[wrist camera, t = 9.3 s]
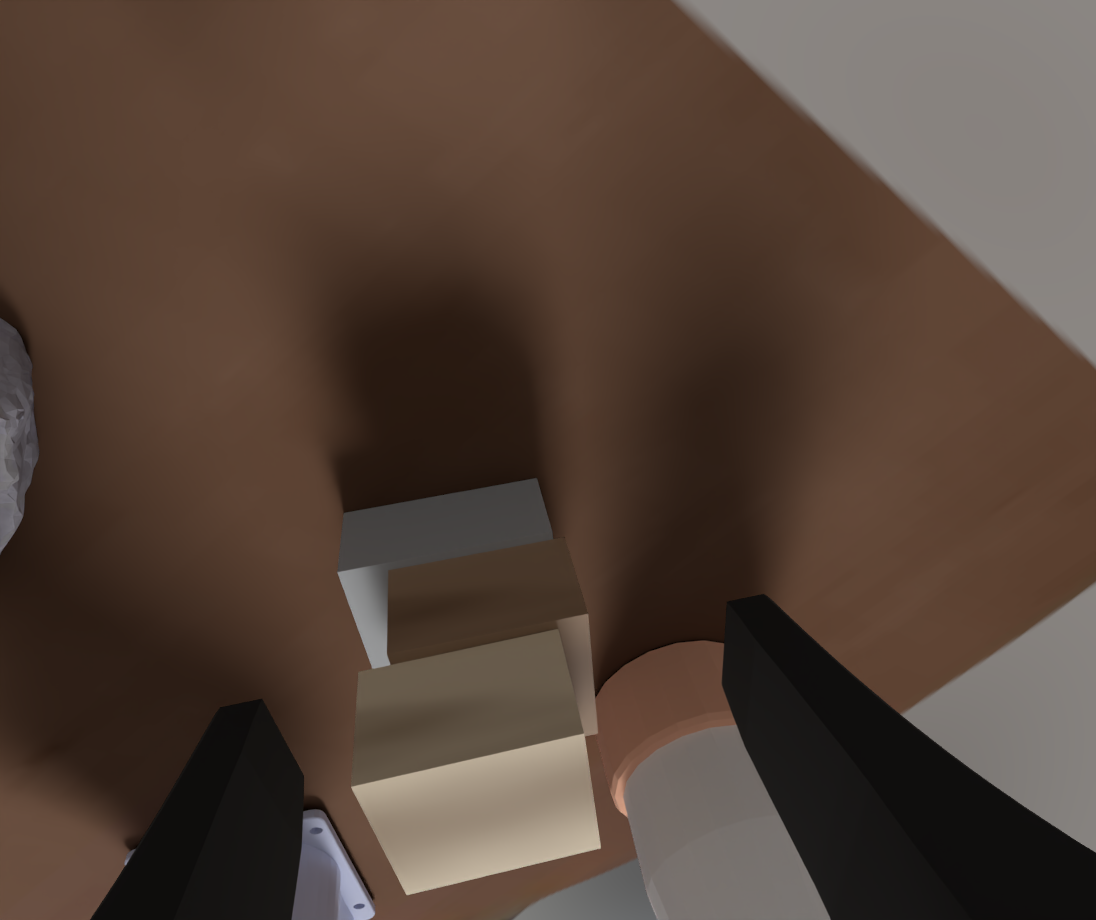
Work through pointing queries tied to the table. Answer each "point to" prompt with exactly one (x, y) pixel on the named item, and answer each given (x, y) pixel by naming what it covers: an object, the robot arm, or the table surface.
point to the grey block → (429, 543)
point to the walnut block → (494, 609)
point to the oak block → (474, 762)
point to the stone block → (15, 430)
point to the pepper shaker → (696, 794)
